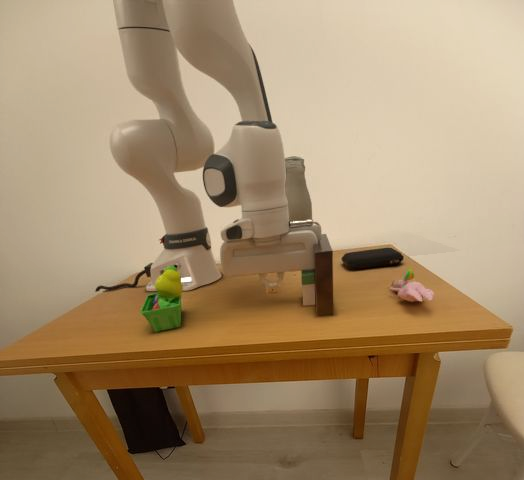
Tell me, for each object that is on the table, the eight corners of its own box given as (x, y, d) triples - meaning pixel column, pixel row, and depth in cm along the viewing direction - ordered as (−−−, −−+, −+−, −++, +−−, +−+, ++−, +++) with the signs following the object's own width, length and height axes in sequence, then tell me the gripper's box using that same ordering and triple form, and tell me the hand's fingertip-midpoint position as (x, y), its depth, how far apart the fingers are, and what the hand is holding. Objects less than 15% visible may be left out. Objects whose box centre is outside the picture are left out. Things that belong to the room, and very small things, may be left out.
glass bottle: (310, 254, 99) (306, 155, 85) (316, 261, 90) (313, 152, 76) (281, 258, 99) (272, 160, 85) (284, 266, 90) (275, 158, 76)
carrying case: (349, 273, 76) (407, 266, 75) (349, 261, 75) (409, 254, 74) (340, 263, 85) (392, 256, 84) (340, 252, 84) (393, 245, 83)
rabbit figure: (383, 295, 64) (405, 312, 51) (384, 267, 62) (408, 277, 48) (413, 292, 63) (445, 309, 50) (415, 264, 61) (449, 273, 48)
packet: (307, 310, 62) (287, 287, 60) (307, 302, 66) (288, 280, 64) (330, 293, 60) (309, 268, 58) (328, 286, 64) (309, 262, 62)
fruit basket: (153, 315, 68) (137, 266, 63) (191, 307, 69) (179, 259, 64) (148, 336, 59) (127, 281, 53) (192, 327, 60) (177, 272, 54)
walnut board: (317, 316, 56) (314, 252, 50) (314, 288, 70) (311, 235, 64) (333, 315, 56) (332, 250, 50) (327, 287, 70) (325, 233, 64)
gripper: (320, 215, 58) (321, 283, 65) (219, 227, 61) (231, 290, 68) (322, 220, 53) (323, 293, 60) (212, 232, 56) (225, 301, 63)
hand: (273, 292), depth 64 cm, fingers closed
